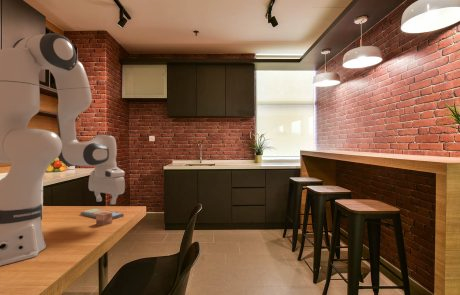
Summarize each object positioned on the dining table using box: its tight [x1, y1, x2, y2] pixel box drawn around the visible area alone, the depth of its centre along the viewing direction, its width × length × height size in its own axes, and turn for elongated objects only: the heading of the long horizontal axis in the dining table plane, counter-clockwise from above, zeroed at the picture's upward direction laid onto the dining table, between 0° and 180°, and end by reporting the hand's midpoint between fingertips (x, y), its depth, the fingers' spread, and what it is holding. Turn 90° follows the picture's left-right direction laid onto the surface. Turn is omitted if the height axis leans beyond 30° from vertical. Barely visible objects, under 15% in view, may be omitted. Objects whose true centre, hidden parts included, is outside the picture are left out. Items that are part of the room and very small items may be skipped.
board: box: [80, 208, 124, 220], centre depth 126 cm, size 9×20×2 cm, turn 62°
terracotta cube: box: [95, 212, 113, 226], centre depth 113 cm, size 4×4×4 cm
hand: (105, 202), depth 114 cm, fingers open, 8 cm apart
